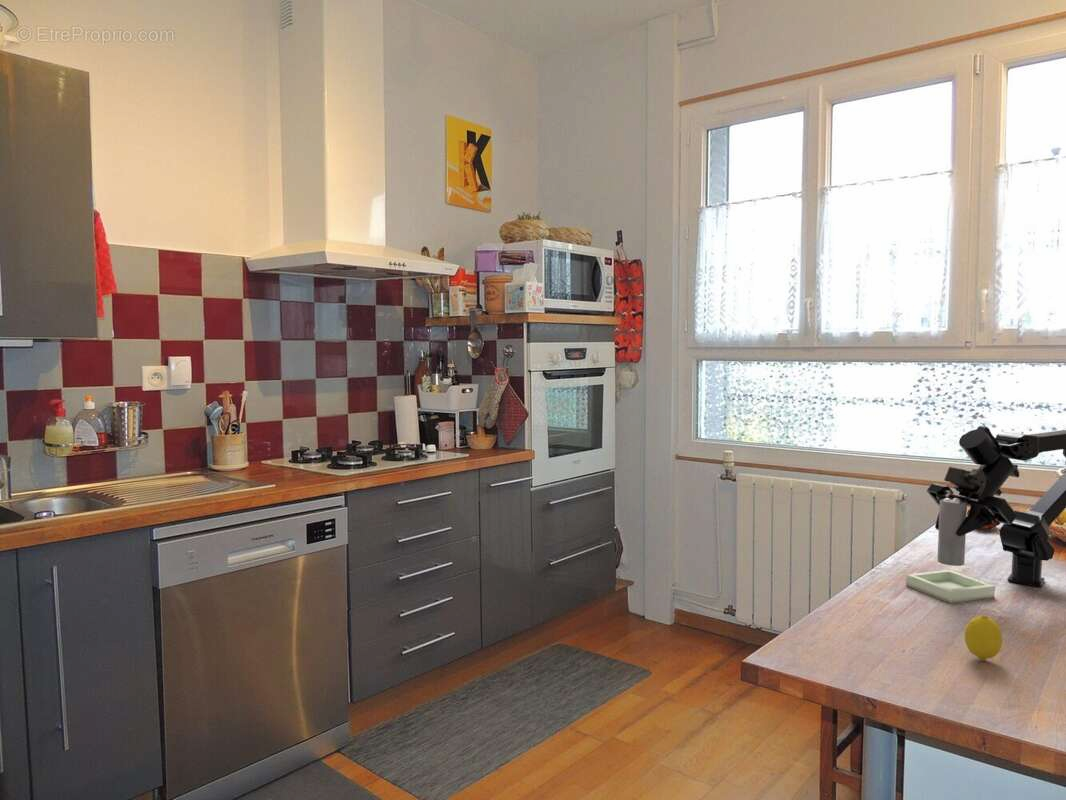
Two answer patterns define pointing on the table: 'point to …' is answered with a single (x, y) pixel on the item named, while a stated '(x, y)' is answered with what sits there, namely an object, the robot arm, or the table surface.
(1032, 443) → the robot arm
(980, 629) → the lemon
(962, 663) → the table surface
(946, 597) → the sage dish
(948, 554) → the grey can
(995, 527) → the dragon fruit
